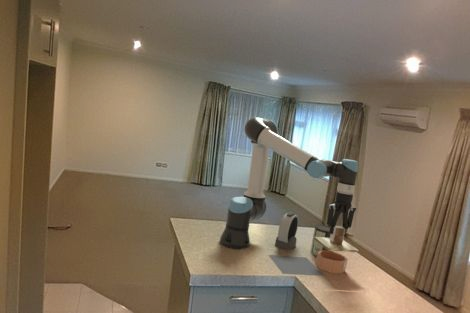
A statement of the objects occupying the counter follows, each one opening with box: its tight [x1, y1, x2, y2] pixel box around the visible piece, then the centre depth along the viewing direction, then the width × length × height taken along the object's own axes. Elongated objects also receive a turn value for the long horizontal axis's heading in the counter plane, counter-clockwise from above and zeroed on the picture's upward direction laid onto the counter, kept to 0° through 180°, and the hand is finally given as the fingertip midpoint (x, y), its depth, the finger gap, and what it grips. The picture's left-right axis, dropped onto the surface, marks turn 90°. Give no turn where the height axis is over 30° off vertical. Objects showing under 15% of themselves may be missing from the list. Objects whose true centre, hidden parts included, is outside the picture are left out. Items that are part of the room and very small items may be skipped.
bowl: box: [315, 250, 348, 274], centre depth 176 cm, size 13×13×6 cm
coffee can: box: [310, 224, 331, 257], centre depth 193 cm, size 10×10×14 cm
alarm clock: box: [274, 211, 299, 250], centre depth 197 cm, size 16×10×18 cm, turn 152°
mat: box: [268, 254, 326, 277], centre depth 172 cm, size 20×20×1 cm
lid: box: [314, 225, 359, 253], centre depth 175 cm, size 15×15×9 cm
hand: (336, 240), depth 175 cm, fingers closed on lid, 4 cm apart
